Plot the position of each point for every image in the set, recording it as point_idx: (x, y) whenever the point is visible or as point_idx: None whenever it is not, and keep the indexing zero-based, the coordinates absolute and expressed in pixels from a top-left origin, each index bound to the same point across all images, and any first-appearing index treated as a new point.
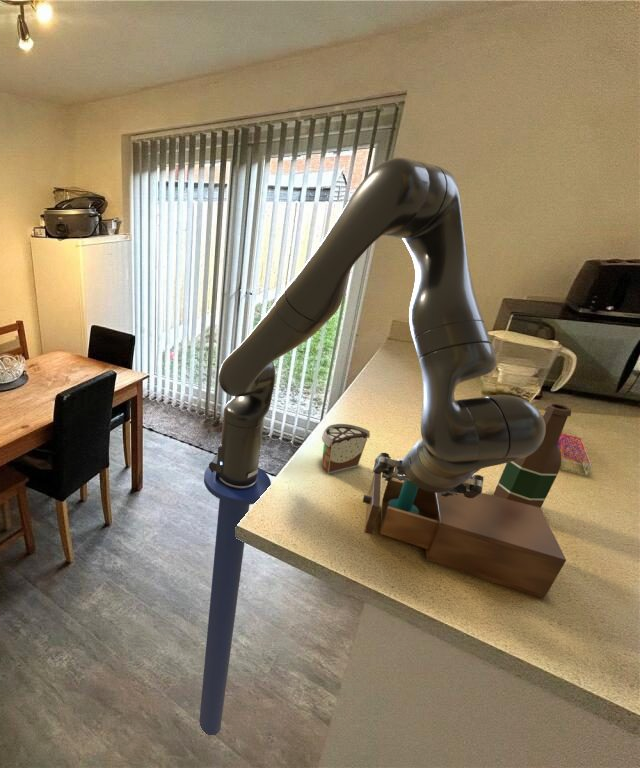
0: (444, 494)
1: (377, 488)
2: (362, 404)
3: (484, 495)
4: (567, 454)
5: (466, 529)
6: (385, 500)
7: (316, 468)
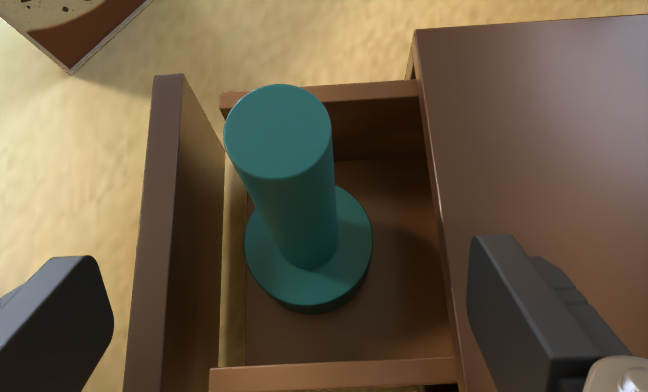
0: (496, 378)
1: (157, 231)
2: None
3: (629, 31)
4: None
5: None
6: None
7: (29, 65)
